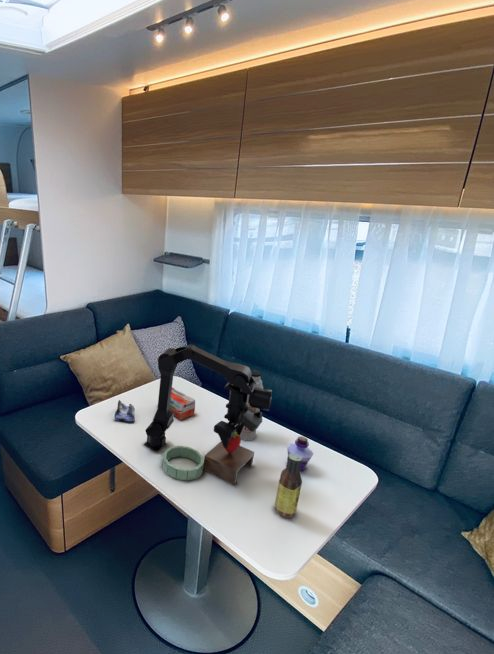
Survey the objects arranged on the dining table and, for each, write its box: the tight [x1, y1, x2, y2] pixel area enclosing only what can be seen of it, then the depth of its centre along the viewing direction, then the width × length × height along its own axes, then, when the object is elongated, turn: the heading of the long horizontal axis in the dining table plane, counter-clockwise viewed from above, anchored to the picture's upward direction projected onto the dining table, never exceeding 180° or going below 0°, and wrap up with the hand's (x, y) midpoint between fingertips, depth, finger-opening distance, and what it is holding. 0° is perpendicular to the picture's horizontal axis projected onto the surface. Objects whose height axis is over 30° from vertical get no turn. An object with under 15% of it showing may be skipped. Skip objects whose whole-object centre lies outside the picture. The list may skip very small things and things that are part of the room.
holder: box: [162, 445, 204, 482], centre depth 145 cm, size 14×14×4 cm
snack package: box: [114, 399, 136, 423], centre depth 176 cm, size 12×6×12 cm
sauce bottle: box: [274, 453, 303, 519], centre depth 123 cm, size 6×6×20 cm
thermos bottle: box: [240, 369, 264, 441], centre depth 161 cm, size 8×8×28 cm
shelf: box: [203, 440, 255, 486], centre depth 145 cm, size 12×14×6 cm
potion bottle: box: [286, 435, 314, 472], centre depth 145 cm, size 9×9×12 cm
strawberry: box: [223, 432, 242, 454], centre depth 142 cm, size 6×8×10 cm
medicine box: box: [170, 386, 196, 421], centre depth 181 cm, size 15×8×8 cm, turn 38°
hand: (231, 442), depth 142 cm, fingers open, 9 cm apart
